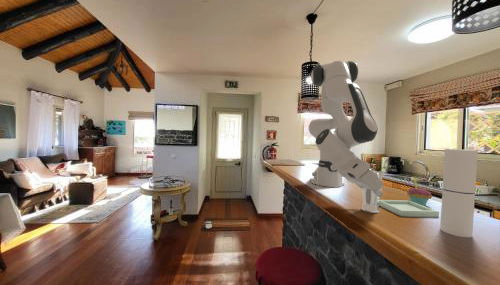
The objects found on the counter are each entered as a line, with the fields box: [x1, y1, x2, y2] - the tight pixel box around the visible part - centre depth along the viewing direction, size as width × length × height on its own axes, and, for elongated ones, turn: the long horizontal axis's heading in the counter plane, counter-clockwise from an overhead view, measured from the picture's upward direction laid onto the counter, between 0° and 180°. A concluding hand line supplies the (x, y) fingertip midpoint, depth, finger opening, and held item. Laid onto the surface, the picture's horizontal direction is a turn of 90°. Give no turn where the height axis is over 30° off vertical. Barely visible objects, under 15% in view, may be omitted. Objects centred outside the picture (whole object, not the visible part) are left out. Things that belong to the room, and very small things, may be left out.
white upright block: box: [361, 170, 383, 214], centre depth 85 cm, size 7×7×15 cm
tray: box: [378, 199, 440, 218], centre depth 87 cm, size 14×14×2 cm
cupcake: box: [406, 177, 433, 207], centre depth 97 cm, size 9×8×12 cm
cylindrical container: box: [439, 148, 479, 238], centre depth 67 cm, size 7×7×25 cm
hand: (372, 192), depth 85 cm, fingers open, 8 cm apart
